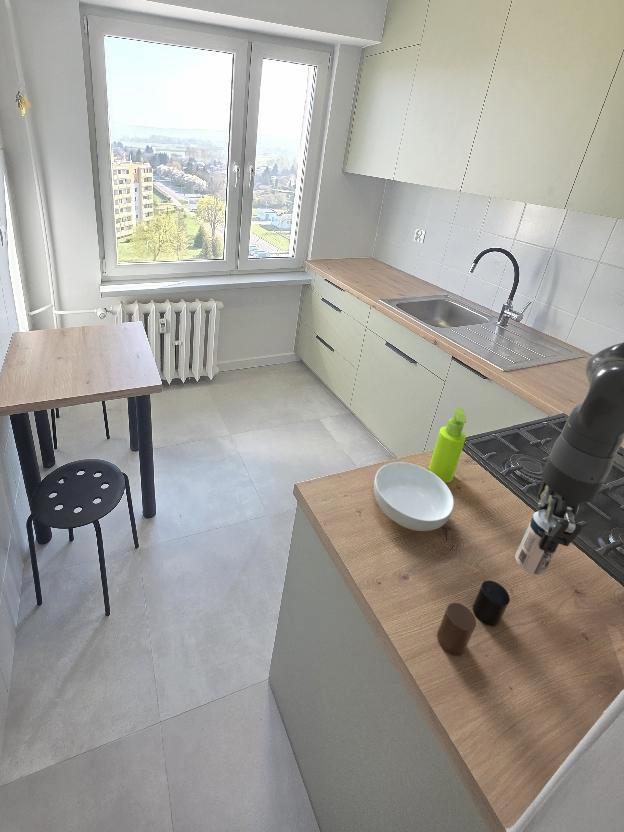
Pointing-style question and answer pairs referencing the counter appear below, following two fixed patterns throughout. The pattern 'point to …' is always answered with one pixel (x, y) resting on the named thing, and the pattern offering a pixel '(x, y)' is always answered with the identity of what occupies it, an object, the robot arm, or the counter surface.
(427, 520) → the cereal bowl
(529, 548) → the beer can
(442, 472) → the soap dispenser
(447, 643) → the walnut post
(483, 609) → the black post
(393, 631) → the counter surface
